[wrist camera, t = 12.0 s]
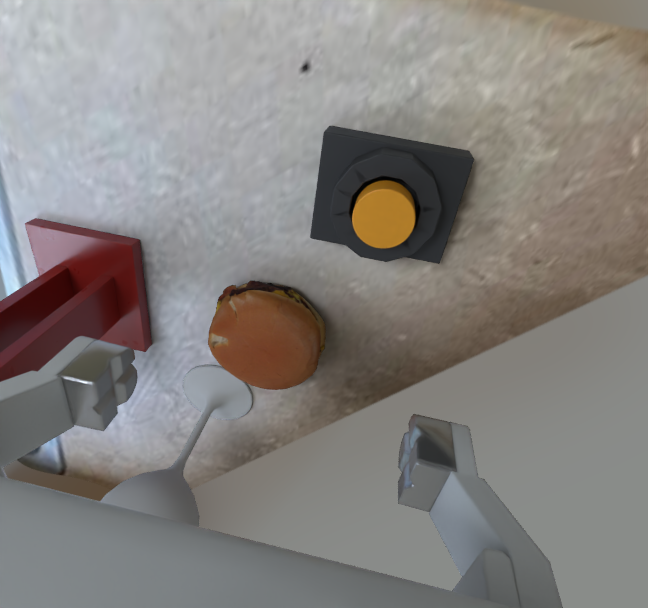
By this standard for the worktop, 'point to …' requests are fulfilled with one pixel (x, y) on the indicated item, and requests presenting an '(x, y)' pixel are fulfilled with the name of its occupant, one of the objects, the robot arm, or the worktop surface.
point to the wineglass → (185, 448)
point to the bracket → (74, 297)
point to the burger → (266, 335)
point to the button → (384, 214)
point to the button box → (392, 165)
